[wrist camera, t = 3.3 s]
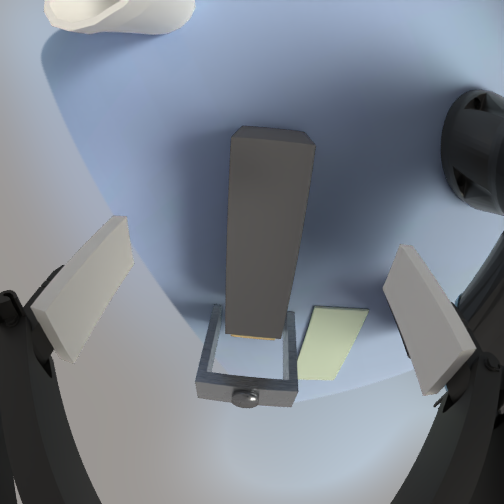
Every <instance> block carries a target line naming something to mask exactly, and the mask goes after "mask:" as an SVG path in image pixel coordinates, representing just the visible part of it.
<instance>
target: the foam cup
mask: <svg viewBox="0 0 504 504" xmlns="http://www.w3.org/2000/svg"><path fill="white" fill-rule="evenodd" d="M194 10H195V0H45V4H44V12H45V14H46V16H47V18H48V20H49V22H50V23H51V25H52V26H53V27H57V28H60V29H64V30H67V31H71V32H78V33H84V34H94V33H98V32H123V33H138V34H149V35H160V34H168V33H171V32H173V31H175V30H177V29H180V28H181V27H182V26H183V25H184V24H185V23H186V22H187V21H188V20H189V19H190V18H191V16H192V14H193V12H194Z"/></svg>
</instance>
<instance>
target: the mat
mask: <svg viewBox="0 0 504 504" xmlns="http://www.w3.org/2000/svg"><path fill="white" fill-rule="evenodd" d="M368 312H369V310H368V309H356V308H339V307H324V306H314V309H313V313H312V316H311V319H310V322H309V326H308V329H307V332H306V335H305V338H304V341H303V344H302V347H301V350H300V353H299V356H298V359H297V371H298V379H303V380H334V378H335V377H336V375H337V373H338V371H339V370H340V368H341V366H342V364H343V362H344V360H345V359H346V357H347V355H348V353H349V351H350V349H351V347H352V345H353V343H354V341H355V339H356V337H357V335H358V333H359V331H360V329H361V327H362V325H363V323H364V321H365V318H366V316H367V314H368Z"/></svg>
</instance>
